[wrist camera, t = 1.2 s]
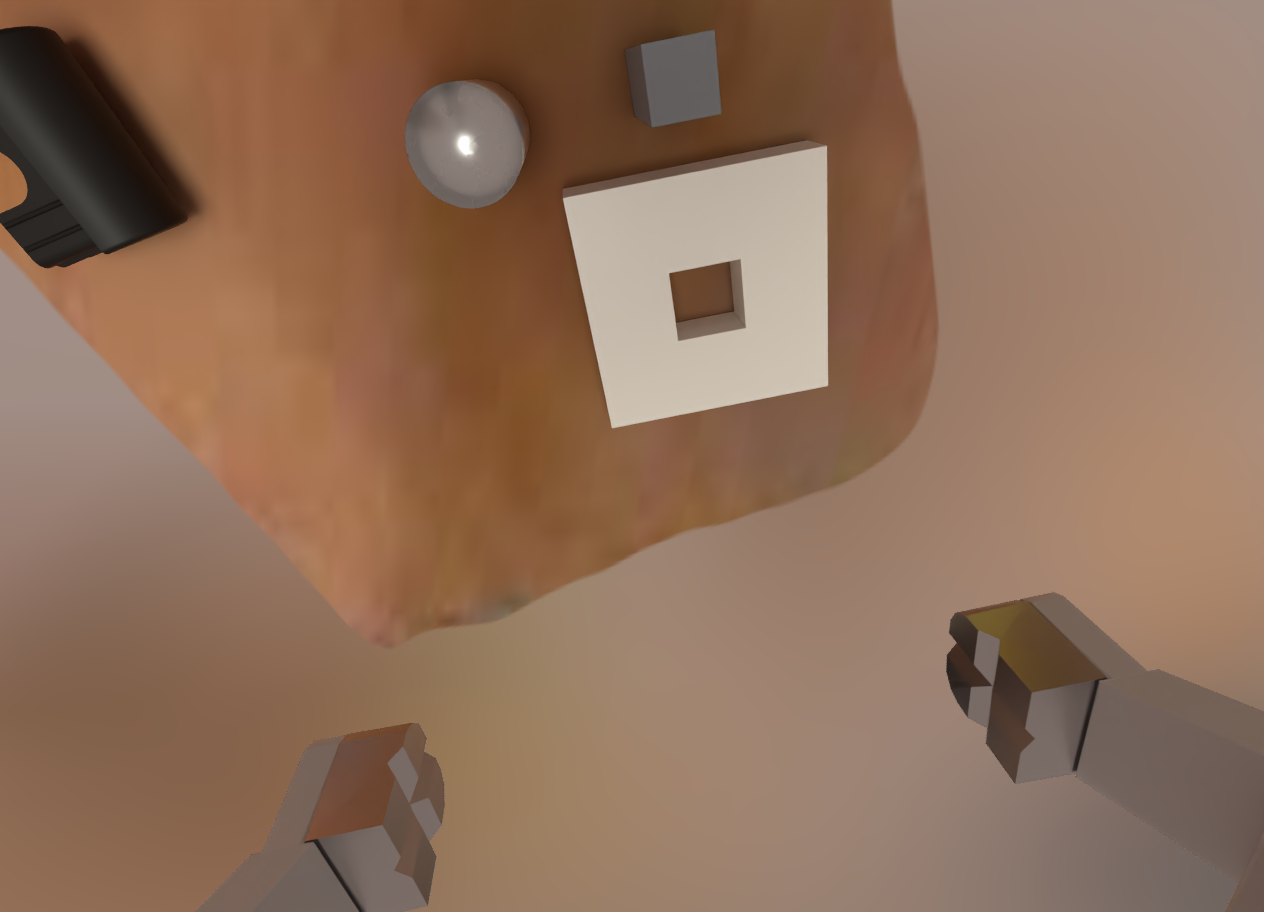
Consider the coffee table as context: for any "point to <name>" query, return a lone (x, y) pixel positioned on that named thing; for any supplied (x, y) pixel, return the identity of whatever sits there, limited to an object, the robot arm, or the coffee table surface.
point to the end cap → (72, 158)
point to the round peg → (467, 141)
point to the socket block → (695, 237)
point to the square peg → (674, 79)
